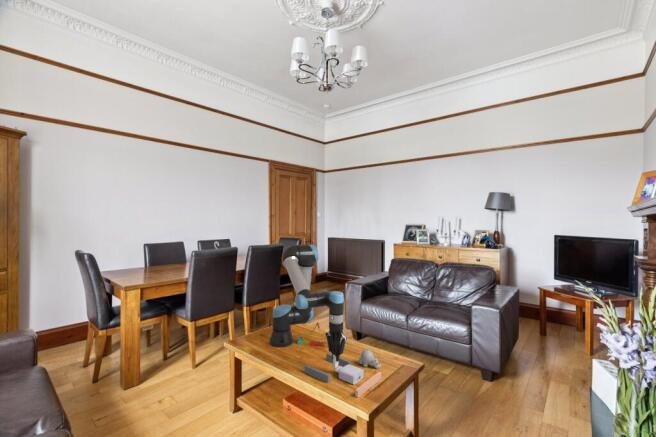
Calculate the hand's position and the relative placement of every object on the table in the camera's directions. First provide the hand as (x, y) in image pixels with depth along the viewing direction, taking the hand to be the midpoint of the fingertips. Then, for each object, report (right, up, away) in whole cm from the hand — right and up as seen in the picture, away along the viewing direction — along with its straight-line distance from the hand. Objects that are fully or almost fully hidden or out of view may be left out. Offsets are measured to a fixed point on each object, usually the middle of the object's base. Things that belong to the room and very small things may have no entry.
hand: (335, 366), depth 161 cm
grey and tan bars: (+3, -4, -2) cm, 5 cm away
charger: (+5, -4, -3) cm, 7 cm away
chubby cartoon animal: (+19, -4, +8) cm, 21 cm away
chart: (-8, -4, +35) cm, 36 cm away
